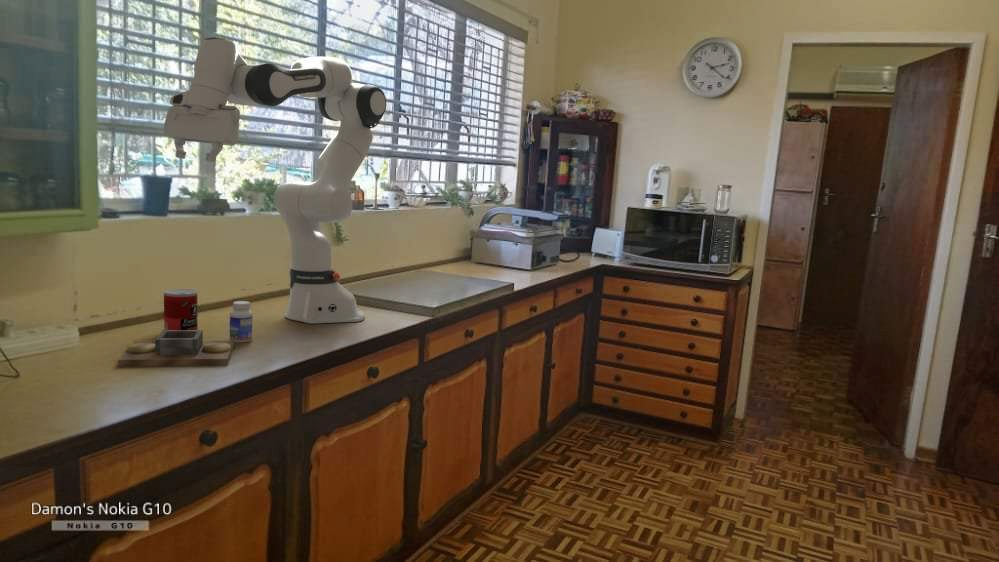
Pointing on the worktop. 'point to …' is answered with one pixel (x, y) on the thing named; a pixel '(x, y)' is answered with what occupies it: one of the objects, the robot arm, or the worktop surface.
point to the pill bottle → (241, 322)
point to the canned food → (180, 309)
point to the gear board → (177, 350)
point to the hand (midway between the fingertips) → (194, 159)
